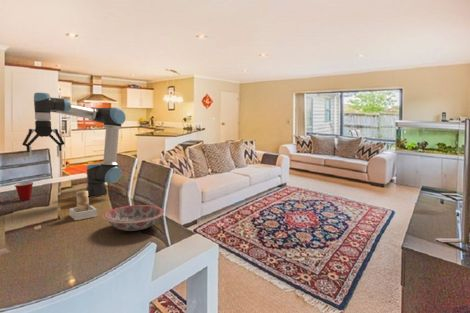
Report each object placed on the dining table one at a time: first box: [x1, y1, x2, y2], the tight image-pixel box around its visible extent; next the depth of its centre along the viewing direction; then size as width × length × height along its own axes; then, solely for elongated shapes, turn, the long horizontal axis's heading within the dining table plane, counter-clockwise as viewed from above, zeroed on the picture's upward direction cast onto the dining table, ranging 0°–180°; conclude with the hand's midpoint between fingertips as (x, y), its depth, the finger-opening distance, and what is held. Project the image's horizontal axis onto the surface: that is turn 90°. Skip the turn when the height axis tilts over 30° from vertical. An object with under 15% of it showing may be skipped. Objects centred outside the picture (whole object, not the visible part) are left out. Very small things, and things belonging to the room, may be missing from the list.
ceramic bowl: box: [103, 204, 165, 232], centre depth 147 cm, size 29×29×8 cm
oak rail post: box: [75, 190, 90, 212], centre depth 164 cm, size 6×6×13 cm
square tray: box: [69, 204, 98, 221], centre depth 164 cm, size 11×11×4 cm
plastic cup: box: [13, 181, 34, 202], centre depth 195 cm, size 11×11×12 cm
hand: (44, 157), depth 166 cm, fingers open, 13 cm apart
